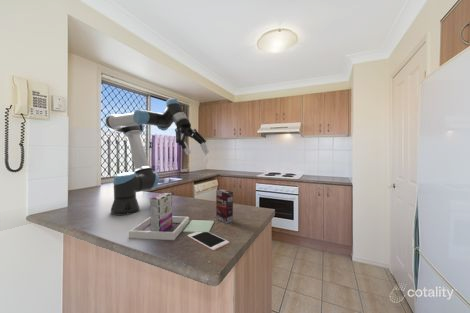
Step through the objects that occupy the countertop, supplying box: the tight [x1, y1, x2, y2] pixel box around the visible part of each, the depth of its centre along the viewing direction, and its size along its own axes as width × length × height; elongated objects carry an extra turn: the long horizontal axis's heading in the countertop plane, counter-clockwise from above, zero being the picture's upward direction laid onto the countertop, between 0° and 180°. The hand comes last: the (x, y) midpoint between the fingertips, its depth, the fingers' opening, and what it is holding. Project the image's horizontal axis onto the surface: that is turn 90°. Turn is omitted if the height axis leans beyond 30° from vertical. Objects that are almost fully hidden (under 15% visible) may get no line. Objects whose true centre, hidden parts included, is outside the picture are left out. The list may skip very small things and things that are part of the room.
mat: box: [182, 219, 215, 234], centre depth 97 cm, size 12×14×1 cm
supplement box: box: [215, 189, 234, 224], centre depth 106 cm, size 9×5×16 cm, turn 47°
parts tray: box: [128, 215, 190, 241], centre depth 94 cm, size 20×20×3 cm
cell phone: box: [186, 232, 230, 252], centre depth 84 cm, size 9×18×1 cm, turn 46°
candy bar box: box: [149, 192, 173, 232], centre depth 93 cm, size 11×5×16 cm, turn 168°
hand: (198, 153), depth 104 cm, fingers open, 13 cm apart
